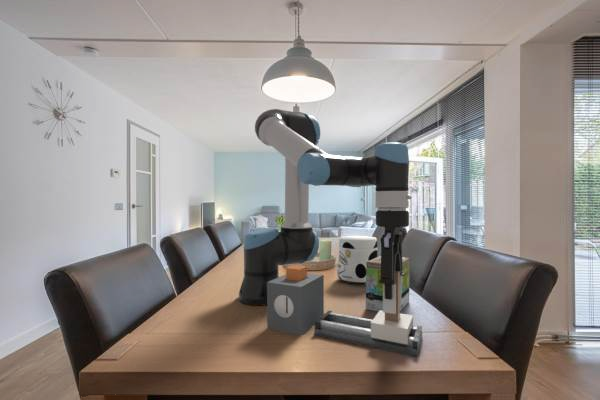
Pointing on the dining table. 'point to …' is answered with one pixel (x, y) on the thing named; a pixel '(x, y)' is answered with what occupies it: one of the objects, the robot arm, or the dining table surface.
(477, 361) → the dining table surface
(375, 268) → the tea box
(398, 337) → the carriage
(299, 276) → the orange cube
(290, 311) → the gauge cabinet
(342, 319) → the rail track
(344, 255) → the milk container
